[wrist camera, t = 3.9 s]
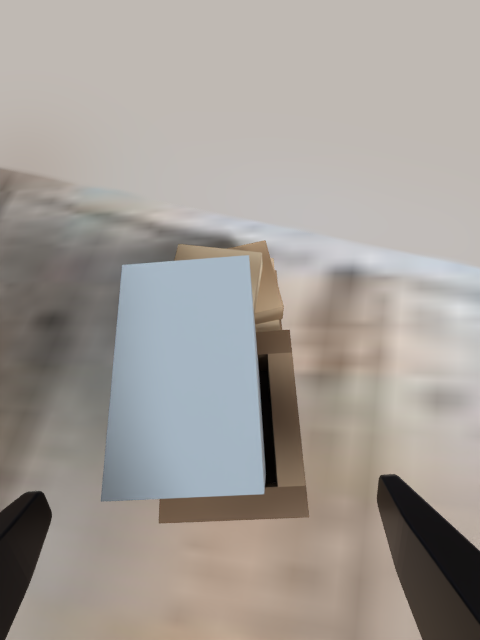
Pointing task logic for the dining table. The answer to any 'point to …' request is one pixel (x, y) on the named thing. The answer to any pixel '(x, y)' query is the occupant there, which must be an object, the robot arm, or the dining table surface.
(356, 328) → the dining table surface
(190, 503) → the rack
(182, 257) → the offcut stack
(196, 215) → the dining table surface
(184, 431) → the light blue tall bar
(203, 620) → the dining table surface
